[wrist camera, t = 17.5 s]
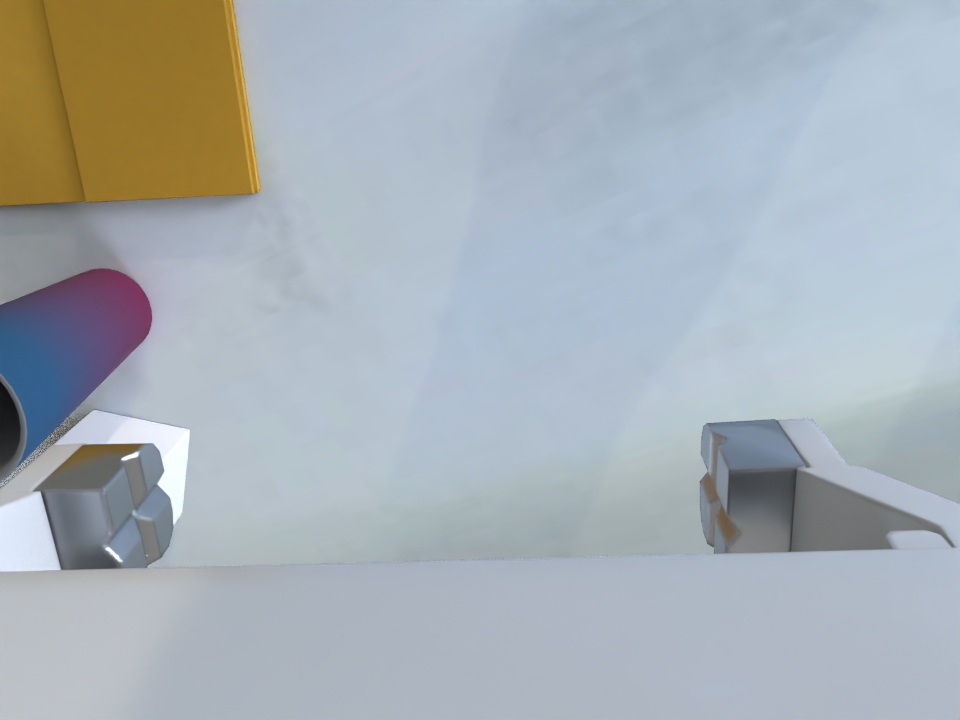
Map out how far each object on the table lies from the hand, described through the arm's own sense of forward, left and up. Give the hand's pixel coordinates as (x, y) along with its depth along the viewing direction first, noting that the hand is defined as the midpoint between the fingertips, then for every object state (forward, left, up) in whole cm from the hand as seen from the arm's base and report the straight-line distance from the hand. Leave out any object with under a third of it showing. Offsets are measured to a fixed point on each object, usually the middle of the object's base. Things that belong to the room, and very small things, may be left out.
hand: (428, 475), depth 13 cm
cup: (+7, -23, -35) cm, 43 cm away
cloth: (-6, -23, -35) cm, 42 cm away
